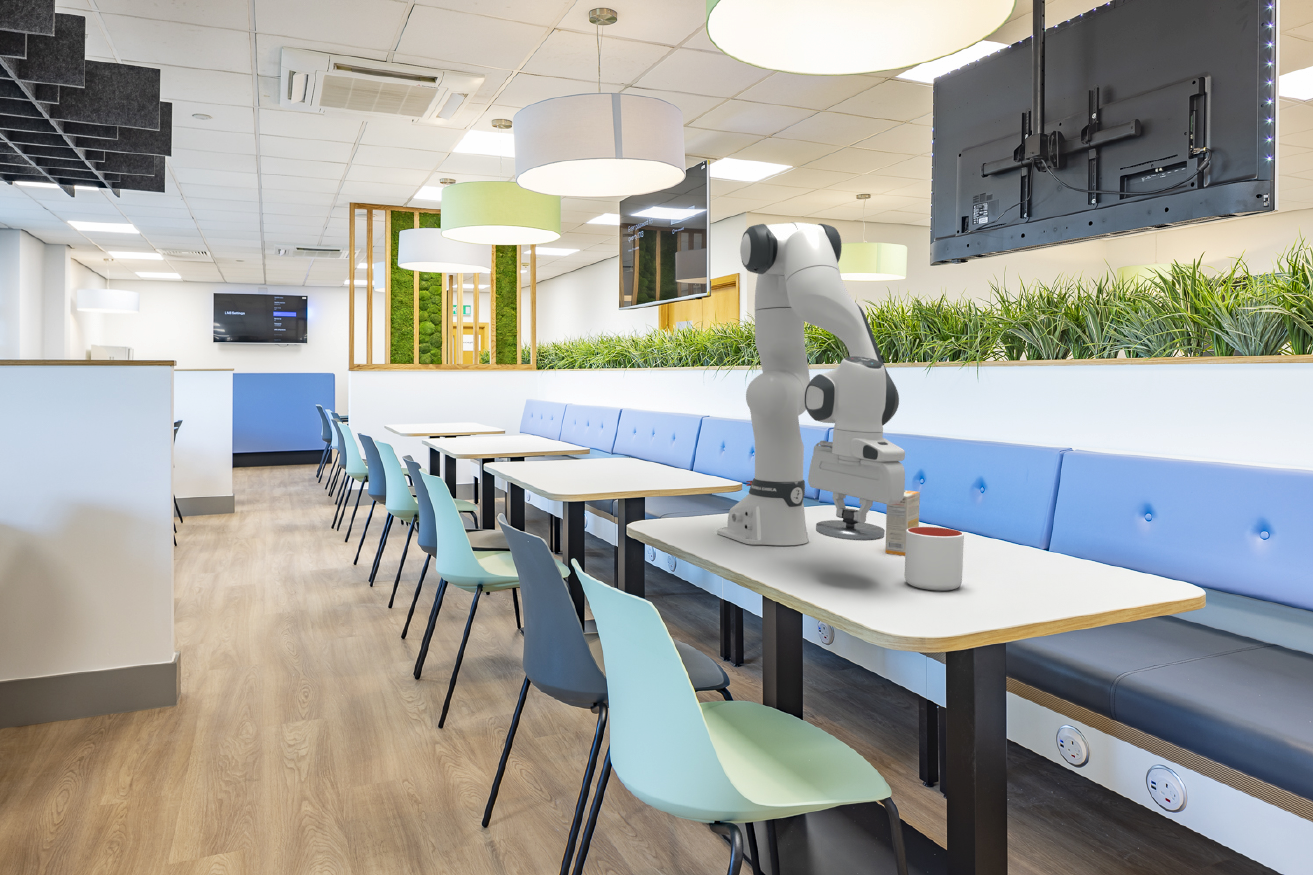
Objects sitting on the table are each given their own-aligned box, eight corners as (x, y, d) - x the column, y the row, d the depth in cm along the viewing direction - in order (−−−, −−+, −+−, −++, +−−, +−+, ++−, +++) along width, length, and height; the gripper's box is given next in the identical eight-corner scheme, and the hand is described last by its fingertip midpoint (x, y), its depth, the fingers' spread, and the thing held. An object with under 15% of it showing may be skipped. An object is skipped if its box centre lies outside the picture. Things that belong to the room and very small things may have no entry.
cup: (965, 594, 148) (968, 538, 147) (906, 590, 150) (908, 535, 149) (957, 580, 157) (959, 528, 157) (902, 577, 159) (903, 525, 159)
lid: (802, 530, 156) (803, 507, 155) (841, 522, 164) (842, 501, 164) (859, 543, 147) (861, 520, 146) (897, 535, 155) (899, 512, 155)
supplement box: (897, 547, 188) (899, 489, 187) (918, 550, 185) (920, 491, 184) (883, 553, 181) (885, 493, 180) (905, 556, 178) (907, 495, 177)
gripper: (803, 439, 160) (798, 510, 162) (889, 453, 144) (883, 532, 145) (826, 438, 164) (821, 508, 166) (913, 452, 148) (906, 529, 149)
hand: (850, 519), depth 155 cm, fingers closed on lid, 3 cm apart
